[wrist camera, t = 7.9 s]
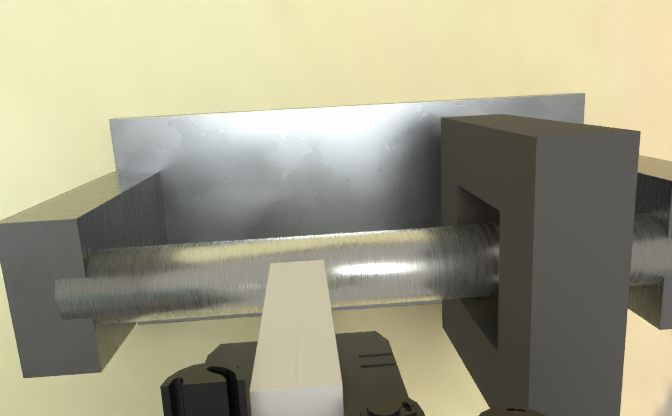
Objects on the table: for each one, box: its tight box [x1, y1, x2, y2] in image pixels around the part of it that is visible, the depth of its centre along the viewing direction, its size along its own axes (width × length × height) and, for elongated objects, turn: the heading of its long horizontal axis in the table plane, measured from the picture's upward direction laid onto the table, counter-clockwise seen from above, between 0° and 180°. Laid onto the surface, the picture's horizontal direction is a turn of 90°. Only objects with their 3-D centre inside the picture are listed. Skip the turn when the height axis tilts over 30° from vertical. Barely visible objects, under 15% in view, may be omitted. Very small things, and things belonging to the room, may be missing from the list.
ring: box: [441, 114, 640, 416], centre depth 18 cm, size 2×9×9 cm, turn 3°
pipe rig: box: [0, 93, 672, 378], centre depth 21 cm, size 23×10×10 cm, turn 93°
